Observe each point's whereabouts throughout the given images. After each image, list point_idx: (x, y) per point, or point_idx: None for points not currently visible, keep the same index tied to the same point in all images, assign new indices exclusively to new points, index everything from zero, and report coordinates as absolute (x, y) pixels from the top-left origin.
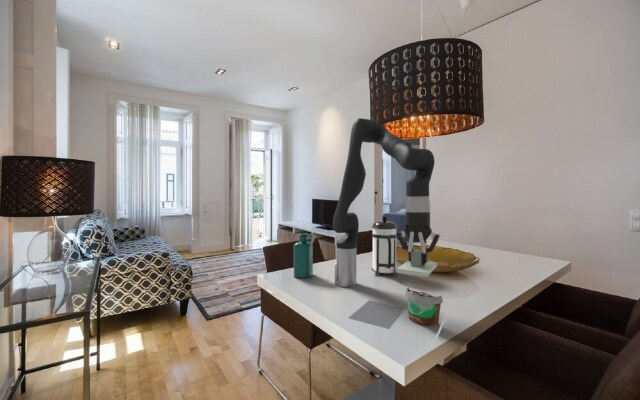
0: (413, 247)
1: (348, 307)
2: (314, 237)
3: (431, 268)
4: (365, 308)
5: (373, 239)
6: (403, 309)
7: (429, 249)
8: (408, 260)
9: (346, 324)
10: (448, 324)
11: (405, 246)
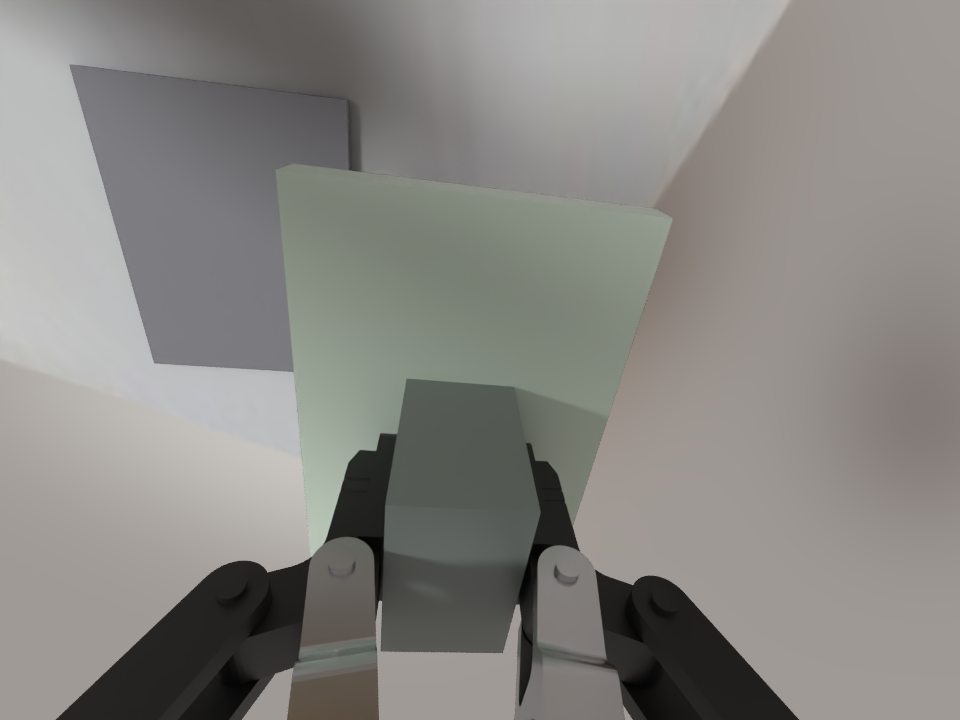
0: (372, 610)
1: (47, 228)
2: None
3: (582, 493)
4: (147, 223)
5: None
6: (344, 127)
7: (623, 679)
8: (289, 279)
9: (183, 396)
10: (589, 195)
11: (260, 689)
